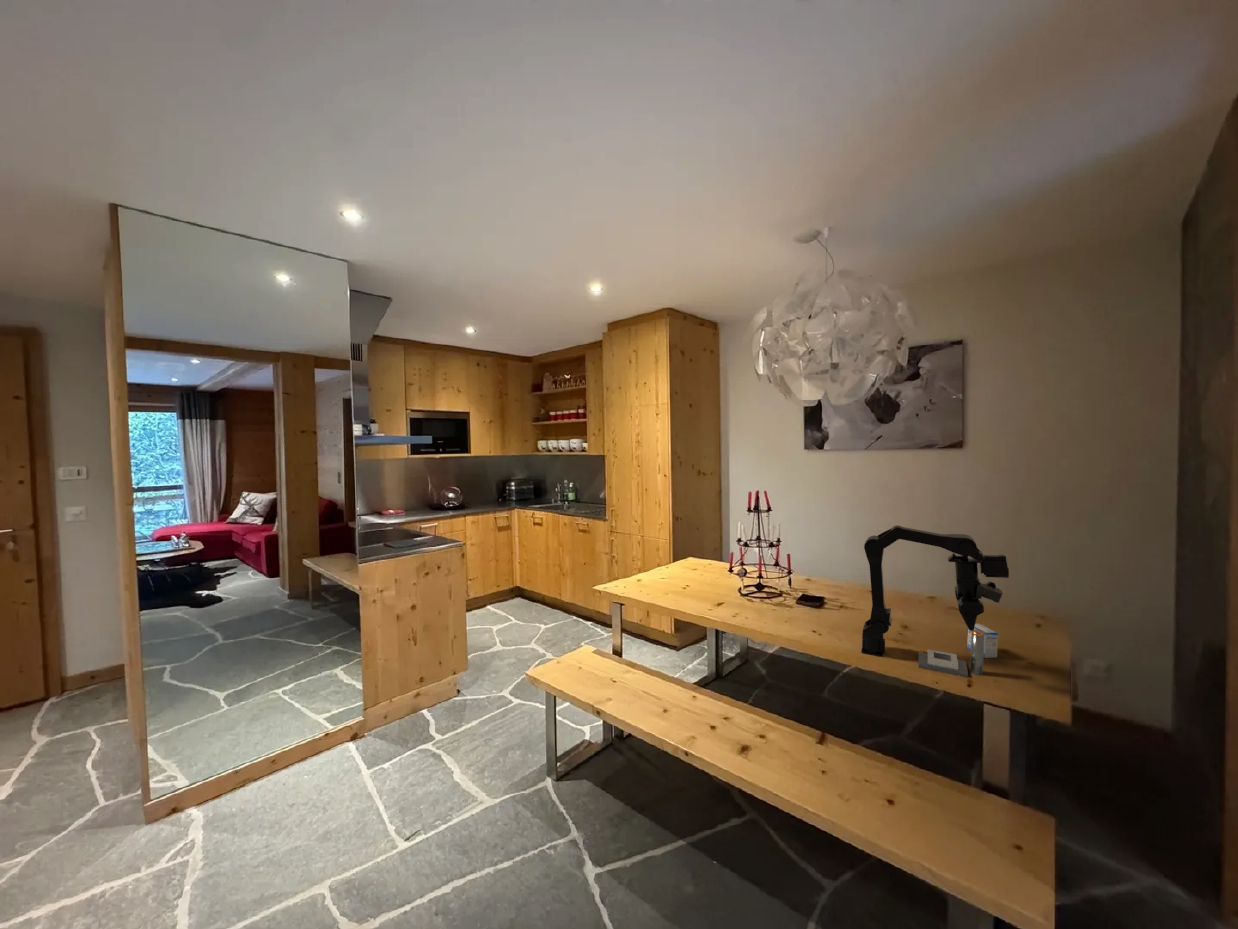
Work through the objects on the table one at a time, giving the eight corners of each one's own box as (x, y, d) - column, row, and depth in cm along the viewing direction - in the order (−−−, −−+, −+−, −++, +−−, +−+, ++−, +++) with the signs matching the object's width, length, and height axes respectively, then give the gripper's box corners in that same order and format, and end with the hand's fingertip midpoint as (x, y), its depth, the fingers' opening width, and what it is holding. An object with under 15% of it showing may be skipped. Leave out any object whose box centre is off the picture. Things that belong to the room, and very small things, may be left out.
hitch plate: (918, 667, 159) (918, 658, 159) (918, 655, 167) (918, 646, 167) (968, 677, 152) (968, 668, 152) (965, 664, 161) (965, 655, 160)
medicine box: (966, 647, 172) (967, 623, 172) (978, 647, 173) (979, 623, 172) (984, 658, 164) (986, 633, 164) (997, 657, 165) (998, 632, 164)
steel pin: (970, 673, 155) (972, 632, 154) (969, 669, 157) (971, 629, 156) (983, 676, 153) (985, 635, 152) (982, 671, 156) (983, 631, 155)
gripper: (1003, 586, 143) (1007, 639, 143) (995, 569, 159) (998, 617, 159) (957, 583, 148) (960, 635, 149) (953, 567, 164) (956, 614, 165)
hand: (970, 625), depth 155 cm, fingers open, 9 cm apart
